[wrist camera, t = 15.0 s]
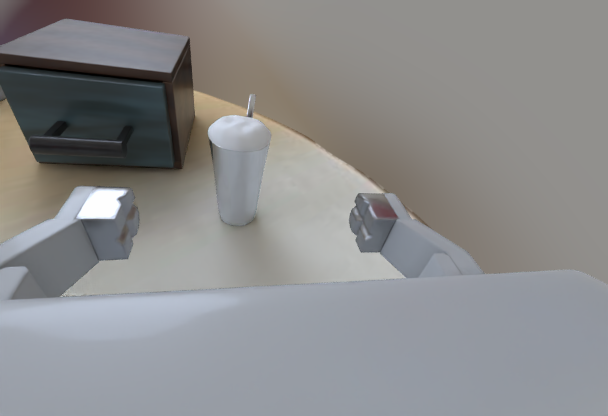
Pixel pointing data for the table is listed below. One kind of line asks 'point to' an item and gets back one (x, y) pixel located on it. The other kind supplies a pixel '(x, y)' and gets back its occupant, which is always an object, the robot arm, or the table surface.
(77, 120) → the drawer
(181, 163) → the cabinet
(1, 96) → the glass holder
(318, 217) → the table surface
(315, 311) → the robot arm
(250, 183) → the milkshake
